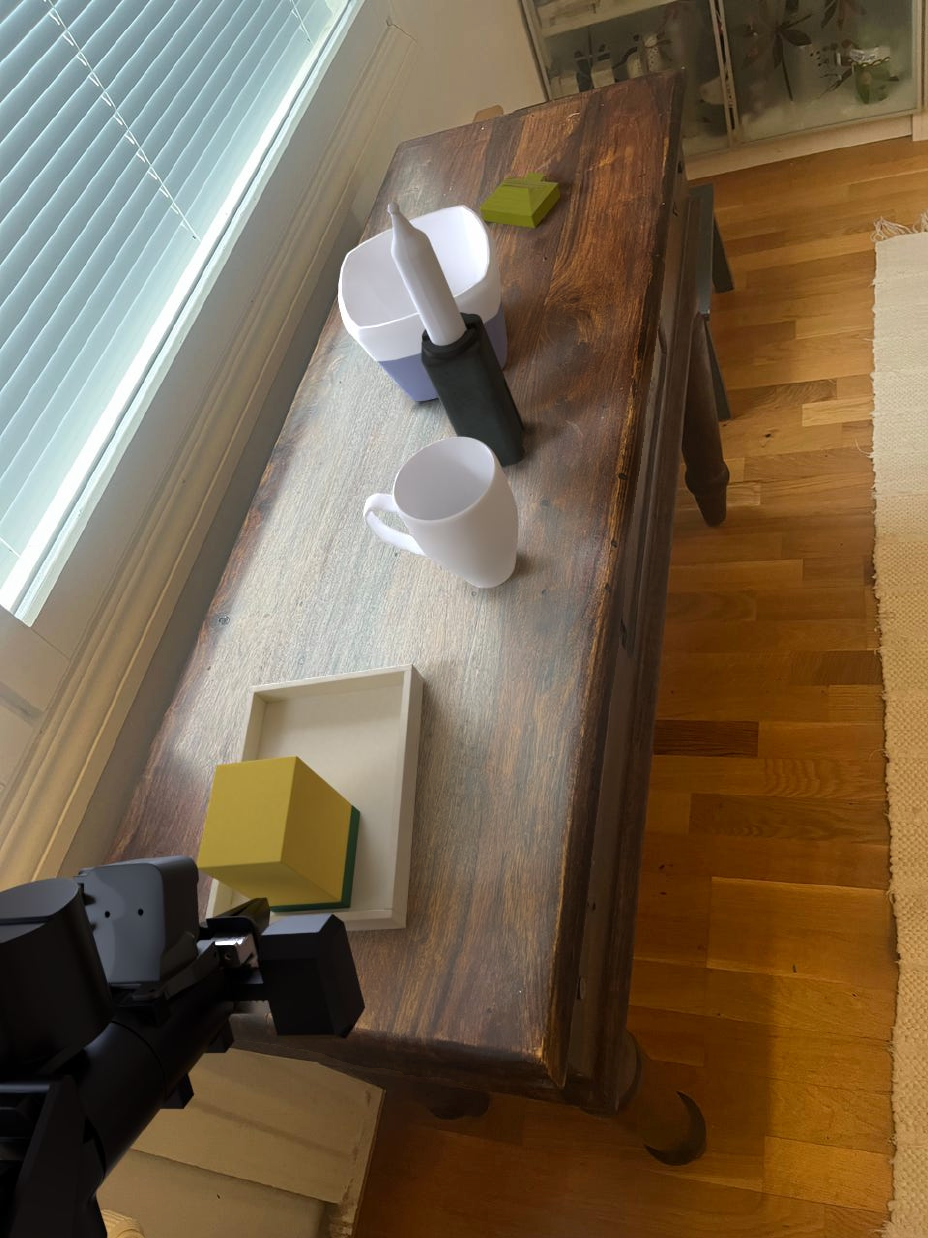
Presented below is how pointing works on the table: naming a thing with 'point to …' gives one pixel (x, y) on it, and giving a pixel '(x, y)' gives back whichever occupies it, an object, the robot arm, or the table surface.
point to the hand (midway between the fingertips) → (263, 904)
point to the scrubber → (280, 835)
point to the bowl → (387, 310)
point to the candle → (457, 350)
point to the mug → (453, 511)
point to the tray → (348, 774)
